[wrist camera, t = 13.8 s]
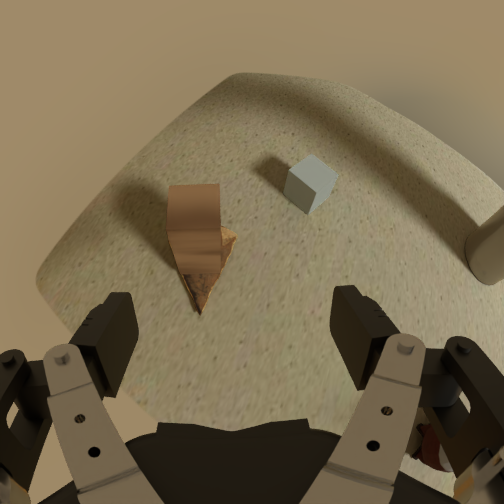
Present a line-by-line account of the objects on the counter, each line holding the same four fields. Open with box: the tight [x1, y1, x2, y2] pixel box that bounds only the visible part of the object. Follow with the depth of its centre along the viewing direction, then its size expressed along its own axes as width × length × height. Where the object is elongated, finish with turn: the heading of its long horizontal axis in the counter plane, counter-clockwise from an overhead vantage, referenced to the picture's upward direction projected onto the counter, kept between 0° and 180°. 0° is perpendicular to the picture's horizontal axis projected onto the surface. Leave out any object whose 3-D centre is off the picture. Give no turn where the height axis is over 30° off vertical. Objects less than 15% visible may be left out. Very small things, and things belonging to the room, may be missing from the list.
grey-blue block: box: [283, 154, 339, 215], centre depth 38 cm, size 4×4×5 cm
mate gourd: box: [412, 423, 453, 472], centre depth 19 cm, size 8×8×15 cm
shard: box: [168, 226, 238, 315], centre depth 35 cm, size 11×8×2 cm
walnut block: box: [166, 184, 221, 274], centre depth 30 cm, size 4×4×10 cm
